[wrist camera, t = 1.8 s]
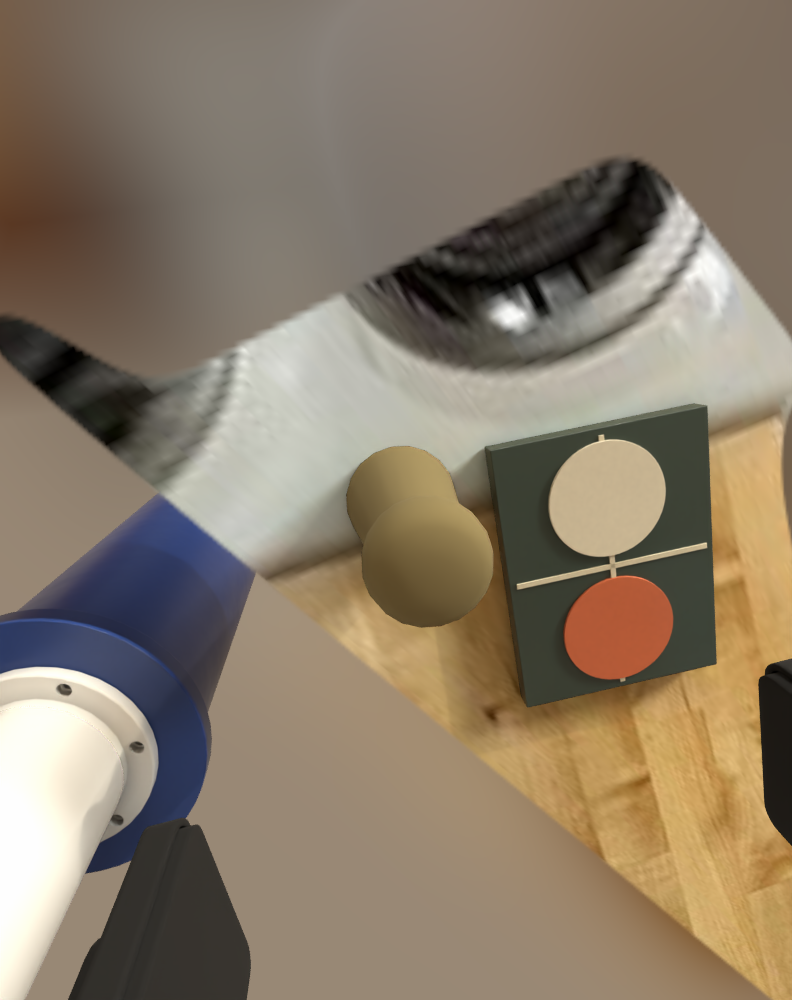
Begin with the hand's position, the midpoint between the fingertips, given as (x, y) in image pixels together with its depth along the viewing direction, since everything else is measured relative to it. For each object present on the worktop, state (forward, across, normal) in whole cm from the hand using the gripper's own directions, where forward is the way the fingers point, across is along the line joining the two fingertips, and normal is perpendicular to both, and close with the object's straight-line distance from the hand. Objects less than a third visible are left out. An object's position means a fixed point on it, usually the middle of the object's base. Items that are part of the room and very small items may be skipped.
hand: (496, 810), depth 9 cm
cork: (+23, -1, +1) cm, 23 cm away
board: (+23, -12, +8) cm, 27 cm away
